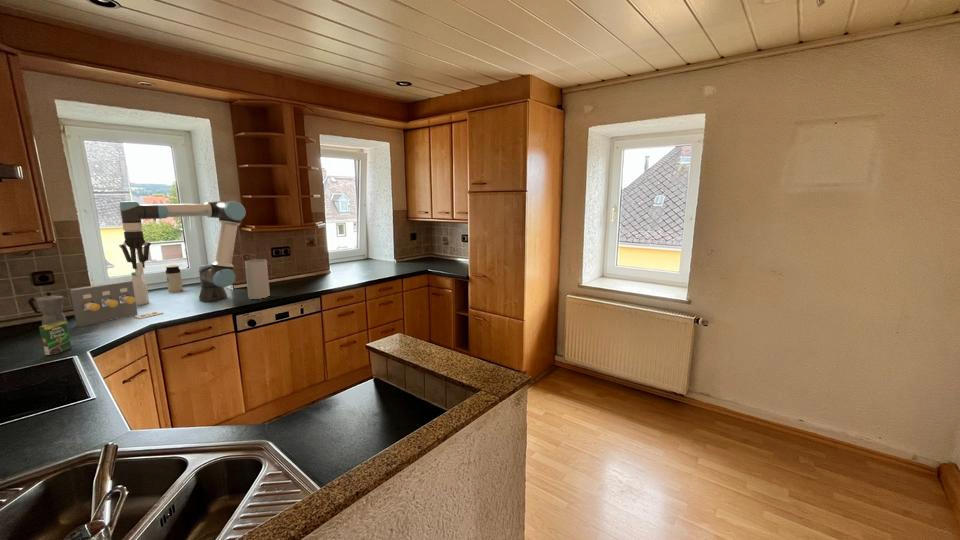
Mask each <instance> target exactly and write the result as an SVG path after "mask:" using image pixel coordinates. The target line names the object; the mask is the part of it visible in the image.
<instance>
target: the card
mask: <svg viewBox="0 0 960 540" xmlns="http://www.w3.org/2000/svg"><path fill="white" fill-rule="evenodd" d="M162 313H163V314H164V312H161V311H152V312H149V313H143V314H139V315H138V314H137V315H133V318H134V317H135V319H138V318H139V320H142V319H146V318H145V317H147V318H149V316H151V317H154V316H153V315H155V316H159V315H158V314H160V315H163V314H162ZM141 318H142V319H141Z"/></svg>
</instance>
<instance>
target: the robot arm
mask: <svg viewBox="0 0 960 540" xmlns="http://www.w3.org/2000/svg"><path fill="white" fill-rule="evenodd" d="M119 212H120V216H121V223H122V229H123V231H124V232H123V235H124V242H123V243H122V244H119V245H118V246H119V248H121V250H122V252H123V255H124V258H125V259H126V262H127V263H131V264H132V269H133V270H134V272H135V273H136V275H140V274H141V276H143V275H145V274H144V273H145V272H144V268H145V269H146V265H145V262H146V261H149V257H150V256H149V253H150V251H149V250H150V246H151V242H148V241H146V240H145V237H144V231H142V230H143V223H142V220H157V219H159V220H162V219H167V218H182V217H183V218H185V217H189V218H191V217H207V218H210V219H211V218H213V219H214V218H215V219H218V222H219V223H220V229H219V236H218V242H217V248H216V256H215V261H214V262H213V263H211V264H202V265H200V266H198V273H199V281H200V282H199V283H200V293H199V296H198V300H199V302H201V301H202V303H207V302H208V303H210V301H213V302H219V301H218V300H220V301H223V300H222V299H224V300H226V299H228V294H227V291H226V290H225V288H228V287H230V286H232V285H233V284H234V282H235V281H236V278H237V276H236V273H235V271H234V268H235V266H234V265H233V257H234V256H233V255H234V250H235V243H236V236H237V231H238V226H240V225H241V224H242V223H241V222H242V220H243V219H244V218H245V217H246V215H247V213H246V212H247V211H246V208H245V207H244V205H243V204H242V203H241V202H239V201H235V200H219V201H207V202H204V203H176V204H175V203H172V204H171V203H167V204H165V203H164V204H160V203H159V204H158V203H157V204H156V203H155V204H152V203H150V204H149V203H147V204H145V203H141V204H140V203H139V202H138V201H136V200H134V201H133V200H131V201H130V200H129V201H127V200H125V201H124V200H123V201H120V202H119ZM143 246H144V247H143ZM127 247H129V250H128V248H127ZM129 251H130V252H129ZM136 252H137V253H136ZM137 256H138V262H137ZM225 298H226V299H225Z"/></svg>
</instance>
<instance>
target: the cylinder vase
mask: <svg viewBox="0 0 960 540" xmlns="http://www.w3.org/2000/svg"><path fill="white" fill-rule="evenodd" d="M244 264H245V265H244V267H245V277H246V278H245V279H246V285H247V286H246V287H247V296H248V299H249V300H251V299H260V300H262V299H261V298H266V297H268V296H271V294H270V293H271V292H270V283H269V282H270V281H269V272H268V270H269V269H268V261H267V259H263V258H262V259H260V258H259V259H249V260H245V261H244ZM268 298H269V297H268ZM266 299H267V298H266Z"/></svg>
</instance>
